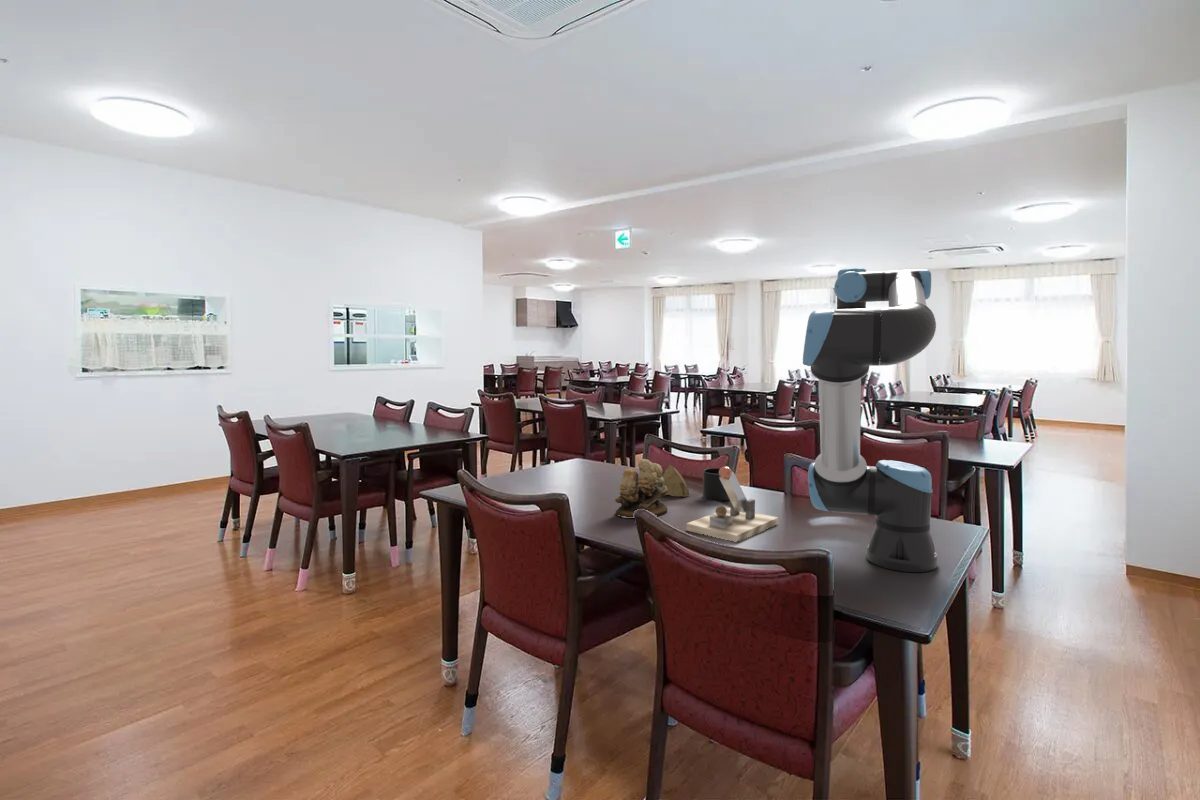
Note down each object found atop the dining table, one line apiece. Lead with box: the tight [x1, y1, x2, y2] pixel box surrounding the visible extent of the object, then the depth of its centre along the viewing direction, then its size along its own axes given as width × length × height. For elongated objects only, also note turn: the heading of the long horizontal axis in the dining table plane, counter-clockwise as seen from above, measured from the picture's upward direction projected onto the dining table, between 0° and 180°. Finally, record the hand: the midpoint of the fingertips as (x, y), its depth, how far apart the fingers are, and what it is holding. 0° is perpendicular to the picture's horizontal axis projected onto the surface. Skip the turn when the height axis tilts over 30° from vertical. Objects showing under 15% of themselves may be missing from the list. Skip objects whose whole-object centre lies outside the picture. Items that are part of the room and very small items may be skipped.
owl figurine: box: [614, 458, 668, 517], centre depth 189 cm, size 18×12×17 cm, turn 119°
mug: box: [702, 467, 730, 502], centre depth 206 cm, size 9×12×9 cm
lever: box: [719, 465, 748, 513], centre depth 173 cm, size 4×4×17 cm
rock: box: [662, 464, 690, 498], centre depth 210 cm, size 11×9×10 cm
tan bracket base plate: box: [686, 498, 779, 542], centre depth 174 cm, size 22×16×7 cm
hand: (848, 411), depth 172 cm, fingers closed
